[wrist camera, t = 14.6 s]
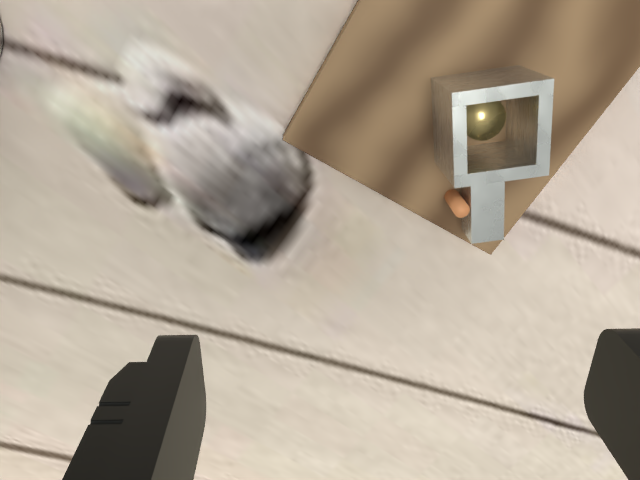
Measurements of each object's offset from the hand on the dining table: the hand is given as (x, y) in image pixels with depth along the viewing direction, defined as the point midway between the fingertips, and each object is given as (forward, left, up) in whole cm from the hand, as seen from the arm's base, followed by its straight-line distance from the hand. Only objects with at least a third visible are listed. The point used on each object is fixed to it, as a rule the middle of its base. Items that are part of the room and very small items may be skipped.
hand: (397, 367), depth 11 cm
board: (+9, +6, -33) cm, 35 cm away
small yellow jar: (+10, +4, -32) cm, 33 cm away
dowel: (+13, -2, -32) cm, 34 cm away
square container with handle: (+13, +1, -32) cm, 34 cm away
